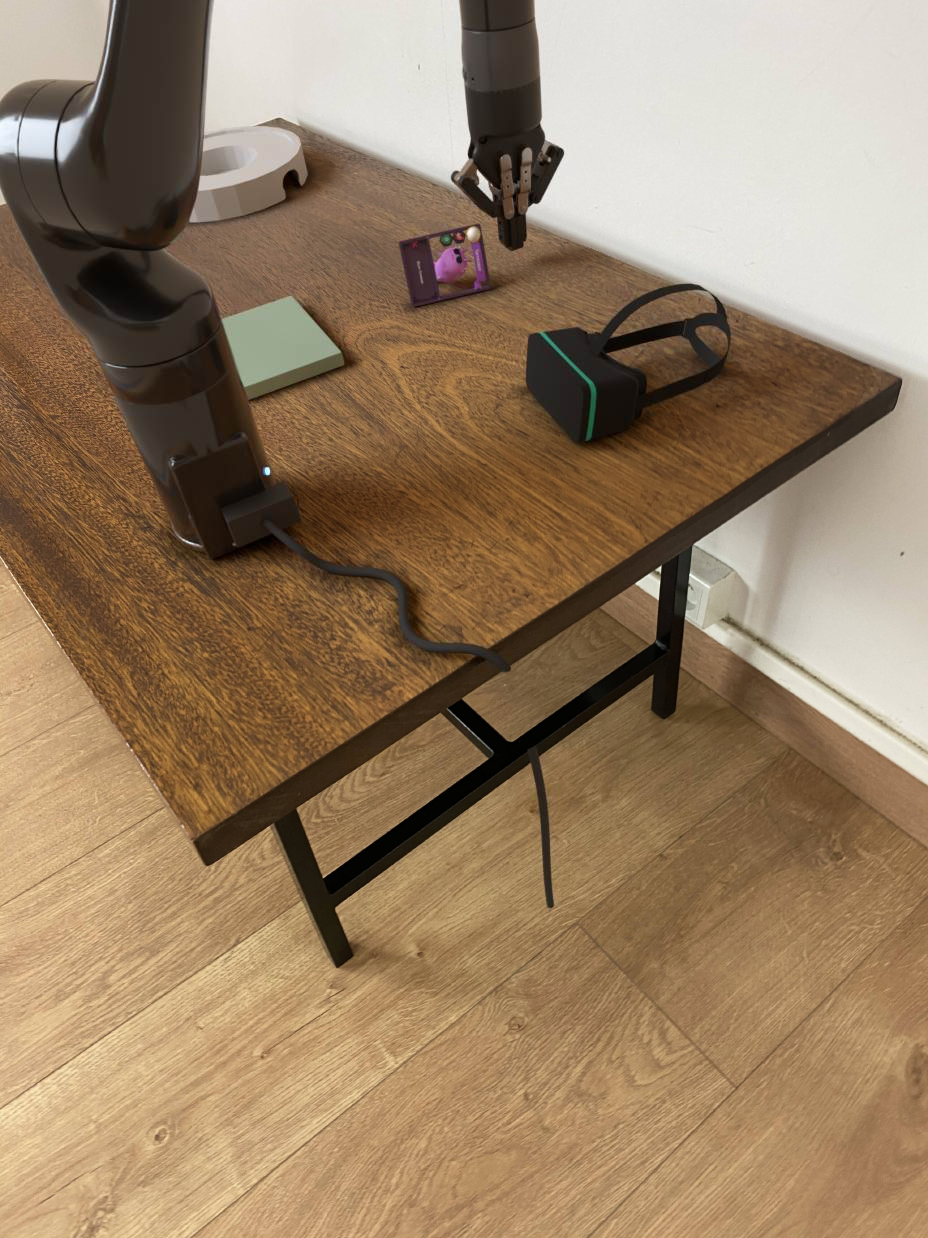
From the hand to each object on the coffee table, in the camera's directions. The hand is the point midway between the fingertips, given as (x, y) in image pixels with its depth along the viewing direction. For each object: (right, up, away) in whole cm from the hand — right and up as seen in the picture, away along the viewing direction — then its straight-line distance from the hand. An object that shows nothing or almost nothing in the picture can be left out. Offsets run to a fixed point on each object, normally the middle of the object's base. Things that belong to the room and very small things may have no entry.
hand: (513, 246), depth 101 cm
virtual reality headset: (+10, -21, -18) cm, 29 cm away
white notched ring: (-39, +20, +28) cm, 52 cm away
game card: (-7, -5, 0) cm, 9 cm away
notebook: (-26, -13, -6) cm, 30 cm away
